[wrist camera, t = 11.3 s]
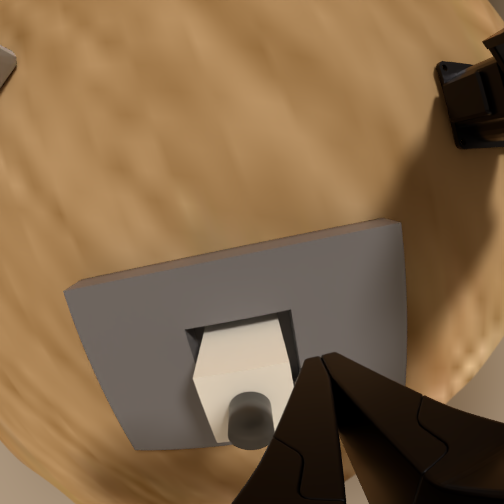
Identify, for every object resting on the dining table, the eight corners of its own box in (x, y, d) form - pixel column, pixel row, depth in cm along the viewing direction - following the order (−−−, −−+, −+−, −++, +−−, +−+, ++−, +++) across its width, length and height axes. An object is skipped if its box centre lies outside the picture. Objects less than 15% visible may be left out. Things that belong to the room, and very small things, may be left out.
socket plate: (383, 217, 19) (401, 222, 16) (391, 385, 21) (404, 403, 19) (81, 279, 19) (63, 291, 17) (142, 429, 22) (135, 450, 19)
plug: (276, 311, 19) (296, 387, 11) (287, 370, 20) (307, 456, 12) (205, 324, 19) (186, 405, 12) (222, 381, 20) (215, 470, 12)
